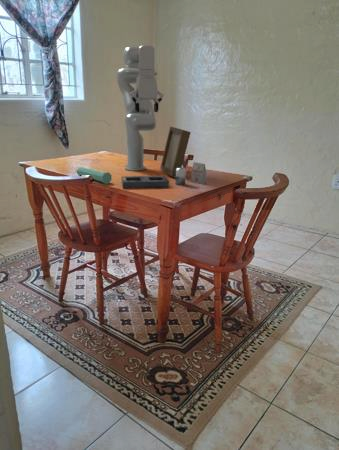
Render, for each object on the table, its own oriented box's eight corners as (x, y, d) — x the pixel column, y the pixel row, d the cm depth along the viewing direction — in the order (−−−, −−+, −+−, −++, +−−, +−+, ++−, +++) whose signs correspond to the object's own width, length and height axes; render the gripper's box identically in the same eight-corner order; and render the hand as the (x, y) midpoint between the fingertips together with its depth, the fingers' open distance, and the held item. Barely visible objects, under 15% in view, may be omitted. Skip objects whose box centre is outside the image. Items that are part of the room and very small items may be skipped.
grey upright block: (195, 180, 185) (196, 161, 181) (205, 183, 181) (206, 163, 177) (190, 182, 182) (191, 162, 179) (201, 184, 178) (202, 164, 175)
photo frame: (171, 178, 190) (172, 130, 181) (160, 170, 209) (160, 126, 200) (197, 176, 194) (199, 130, 185) (183, 169, 213) (185, 126, 205)
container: (73, 174, 188) (100, 182, 171) (76, 164, 187) (103, 170, 171) (82, 177, 192) (110, 185, 176) (85, 167, 192) (113, 173, 175)
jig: (121, 182, 177) (121, 176, 176) (164, 181, 181) (164, 175, 180) (122, 188, 166) (122, 181, 165) (168, 187, 170) (169, 180, 169)
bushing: (174, 183, 179) (175, 167, 176) (184, 183, 180) (184, 167, 177) (176, 185, 174) (177, 169, 171) (186, 185, 175) (187, 169, 172)
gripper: (160, 75, 175) (159, 111, 181) (126, 74, 168) (127, 111, 174) (166, 74, 169) (165, 112, 174) (132, 72, 162) (132, 111, 167)
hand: (146, 111), depth 174 cm, fingers open, 9 cm apart
